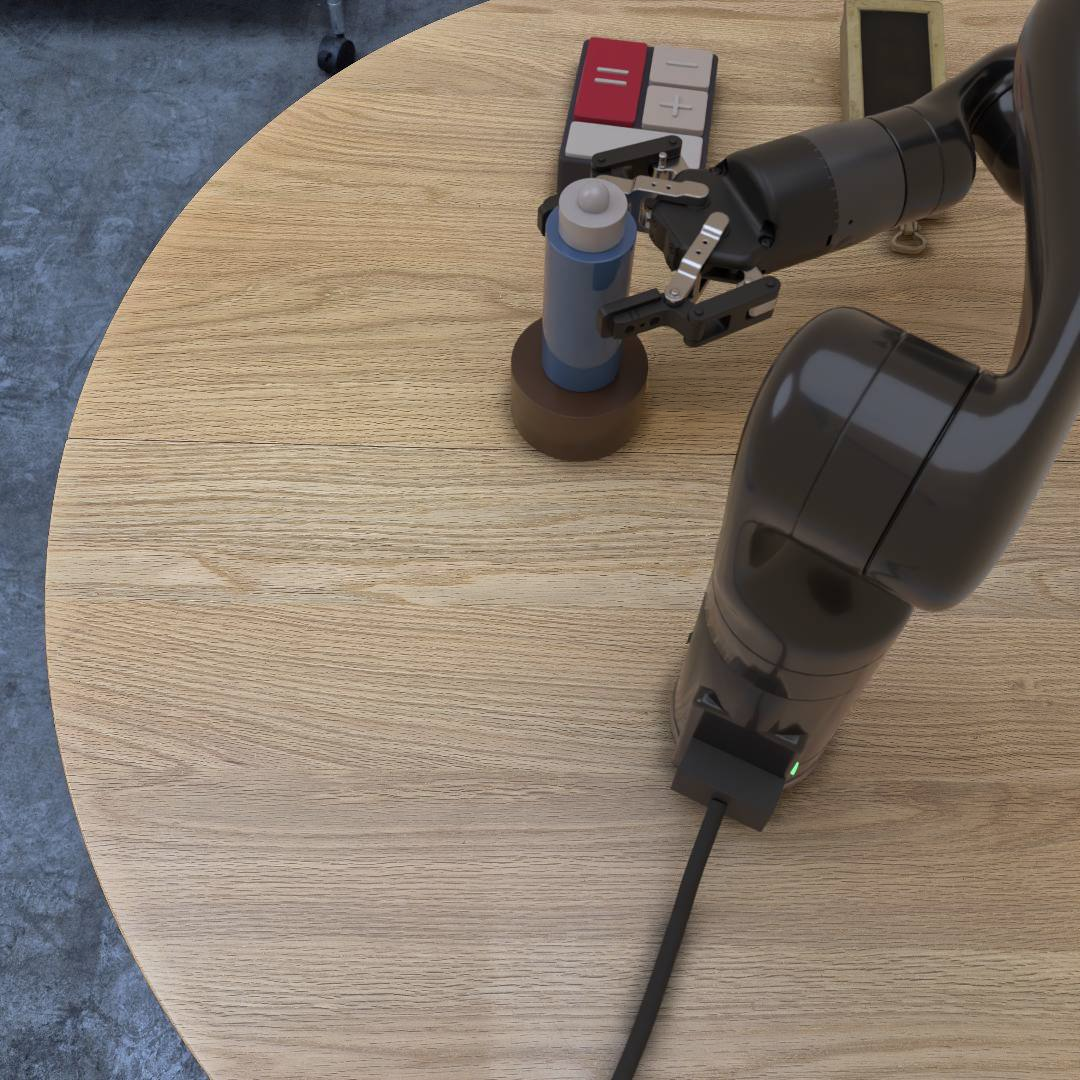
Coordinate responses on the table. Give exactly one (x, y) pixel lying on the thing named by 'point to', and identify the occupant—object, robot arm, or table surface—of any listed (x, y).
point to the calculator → (636, 103)
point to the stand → (575, 403)
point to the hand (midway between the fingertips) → (568, 271)
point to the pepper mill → (585, 282)
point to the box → (891, 65)
